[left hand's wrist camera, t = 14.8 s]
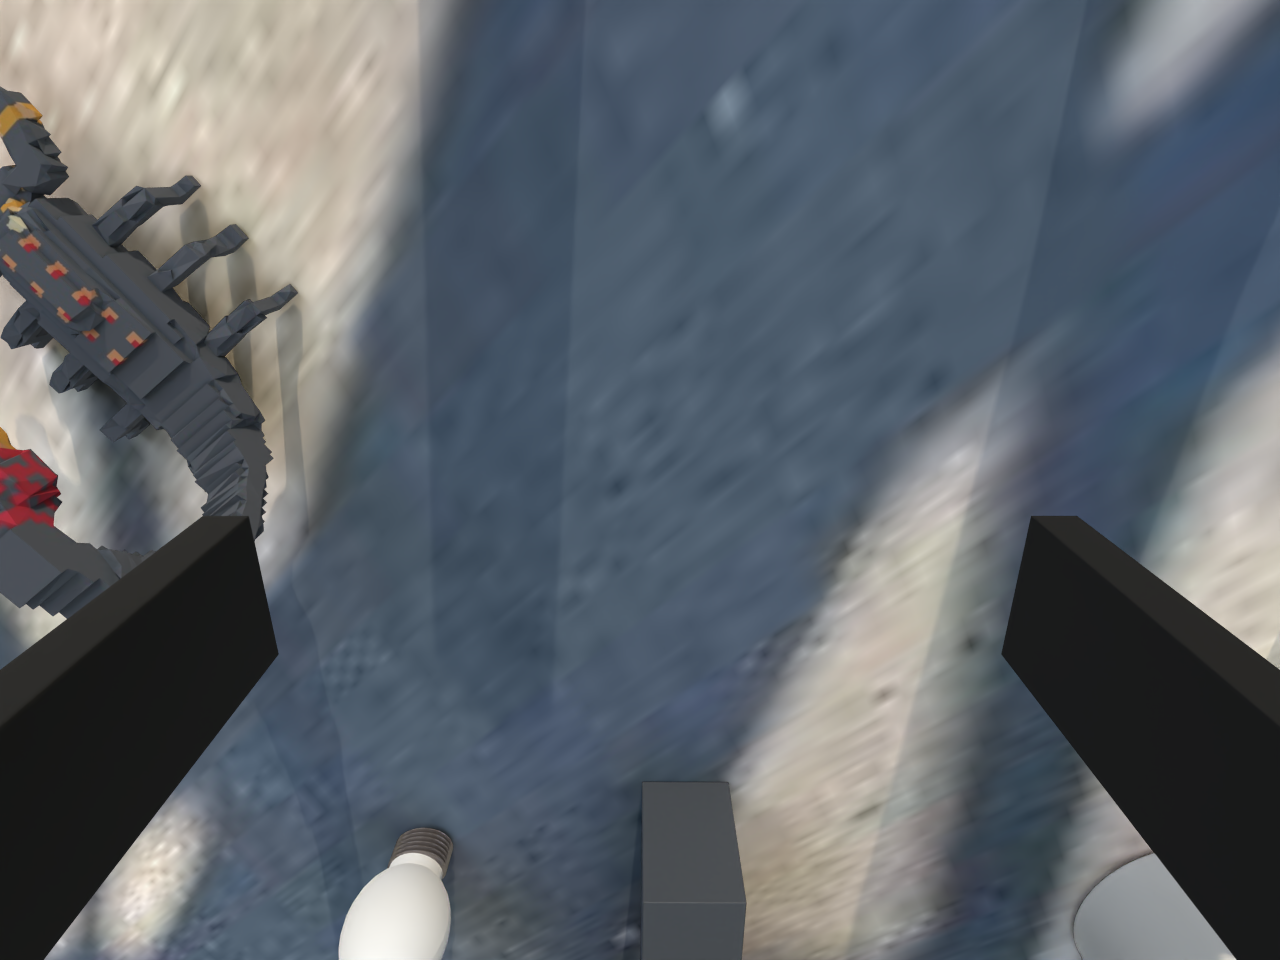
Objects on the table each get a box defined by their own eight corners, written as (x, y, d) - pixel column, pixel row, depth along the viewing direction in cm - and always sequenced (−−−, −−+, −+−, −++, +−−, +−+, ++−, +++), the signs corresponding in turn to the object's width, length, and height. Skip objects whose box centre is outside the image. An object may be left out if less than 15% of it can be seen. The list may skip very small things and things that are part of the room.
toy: (255, 547, 45) (23, 766, 28) (-145, 170, 37) (-800, 158, 20) (414, 421, 42) (263, 580, 25) (17, -18, 34) (-592, -216, 17)
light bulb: (459, 806, 53) (415, 955, 43) (479, 875, 55) (442, 1031, 45) (367, 816, 53) (302, 966, 43) (391, 883, 56) (335, 1040, 46)
